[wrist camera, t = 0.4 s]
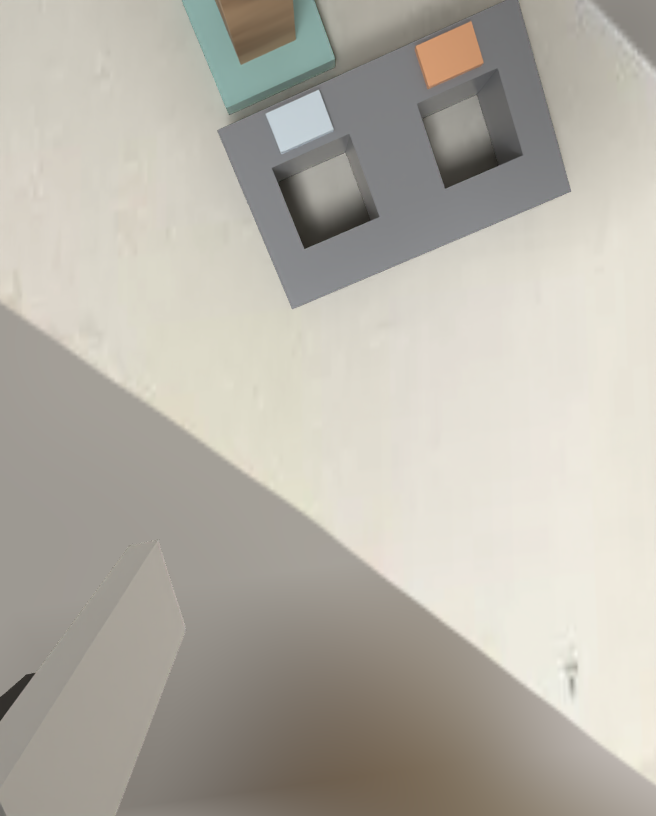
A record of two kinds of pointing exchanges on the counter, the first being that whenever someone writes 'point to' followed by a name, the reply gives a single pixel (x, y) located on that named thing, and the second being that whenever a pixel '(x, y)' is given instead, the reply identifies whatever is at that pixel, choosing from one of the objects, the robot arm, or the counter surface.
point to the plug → (257, 25)
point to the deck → (267, 70)
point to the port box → (402, 151)
